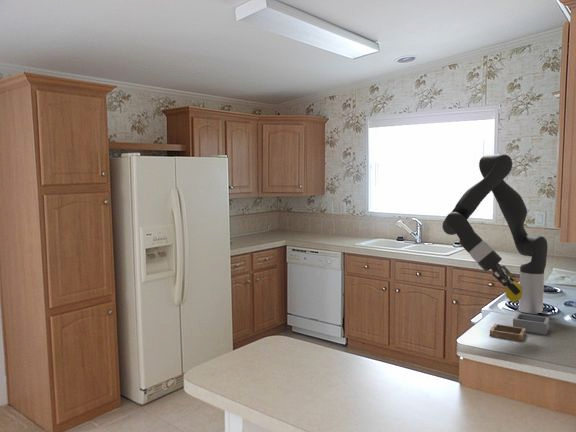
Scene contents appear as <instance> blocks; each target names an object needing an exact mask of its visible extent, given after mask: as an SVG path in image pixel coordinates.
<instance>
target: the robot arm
mask: <svg viewBox="0 0 576 432" xmlns="http://www.w3.org/2000/svg"><path fill="white" fill-rule="evenodd" d="M478 168H479V171H480V174H481V176H482V177H483V179H481V180H480V181H478V182H477V183H475V184H473V186H471V187H470V188H468V189H467V190H466V191H465V192H464V194H463V195H462V196H461V197H460V198H459V200H458V201H457V202H456V204H455V206H454V208H453V209H452V211H451V212H450V213H448V214H447V215H446V217H445V218H444V220H443V222H442V224H441V225H442V230H443V232H444V233H446V234H447V235H449V236H454V235H456V236H457V237H458V239H459V244H460V246H461V247H462V248H463V249H464V250H465V251H466V252H467V253H468V254H469V255H470V257H471V259H473V260H474V262H476V263H477V265H478V266H479V267H480V268H481V269H483V271H484V272H489V271H490V270H491V271H492V277H494V278H495V279H496V280H497V281H498V282H499V283H500V284H501V285H502V286H503V287H505V288H506V287H508V288H509V289H510V290H511V291H512V292H513V293H514V294H515V295H517V294H518V293H520V290H519V289H518V288H517V287H516V286H515V285H514V284H512V283H513V281H516V282H517V280H516V277H515V276H514V275H513V274H512V272H511V271H510V270H509V269H508V268H507V267H506V266H505V265H501V263H500V262H501V261H502V257H501V256H500V255H499V254H498V253H497V252H496V251H495V250H494V248H492V247H491V246H490V245H489V244H488V243H487V242H485V241H484V239H482V238H481V237H480V235H479V234H477V233H476V231H475V230H474V228H473V226H472V225H471V223H470V222H469V220H468V219H469V218H470V217H471V216H472V215H473V213H474V212H475V211H476V210H477V208H478V207H479V205H480V204H481V202H482V201H483V200H484V199H485V198H486V197H487V195H489V194H490V192H492V194H493V196H494V198H495V200H496V202H497V204H498V206H499V207H498V208H500V211H501V213H502V215H503V217H504V219H505V221H506V223H507V226H508V229H510V233H511V236H512V239H513V243H514V245H515V247H516V250H517V252H518V253H519V254H520V255H522V256H524V257H531V259H530V261H529V262H527V263H523V264H521V265H520V266H519V284H520V285H521V287H522V297H521V298H520V300H518V311H519V312H521V313H523V314H528V315H539V314H538V313H540V312H542V311H543V308H544V288H545V287H544V286H545V285H544V284H545V283H544V282H545V269H546V266H547V257H548V247H549V246H548V240H547V238H545V237H544V236H541V235H531V234H529V233H528V232H527V230H526V229H525V221H526V218H527V217H528V215H527V214H528V209H527V206H526V204H525V202H524V200H523V198H522V196H521V194H519V192H517V191H516V189H514V188H513V187H512V186H510V185H509V184H508V183H507V182H506V181H505V178H506V177H507V176H508V175H509V174H510V173H511V171H512V168H513V161H512V158H511V156H509V154H505V153H497V154H485V155H483V156H481V157H480V159H479V161H478Z"/></svg>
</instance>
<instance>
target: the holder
mask: <svg viewBox="0 0 576 432" xmlns="http://www.w3.org/2000/svg"><path fill="white" fill-rule="evenodd" d="M512 326H513V327H520V328H526V333H533V334H537V335H545V336H547V334H548V331H549V328H550V317H549V316H541V315H537V314H529V313H522V312H521V313H519V312H516V314H515V315H514V317H513V319H512Z"/></svg>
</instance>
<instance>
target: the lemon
mask: <svg viewBox="0 0 576 432" xmlns="http://www.w3.org/2000/svg"><path fill="white" fill-rule="evenodd" d="M512 284H514V285H515V286H516V287H517V288H518V289H519V290H520V293H518V294H517V295H515V294H514V293H513V292H512V291H511V290H510V289H509V288H508V287H506V286H505V291H504V293H505V297H506V298H507V299H508V300H509V301H511V302H512V303H515V302H519V300H520V298H521V297H522V287H521V285H520V282H518V281H517V280H516V281H513V283H512Z"/></svg>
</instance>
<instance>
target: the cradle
mask: <svg viewBox="0 0 576 432" xmlns="http://www.w3.org/2000/svg"><path fill="white" fill-rule="evenodd" d="M526 334H527V332H526V328H520V327H513V325H506V324H500V323H494V324H493V326H492V327H491V328H490V329H489V337H494V338H495V337H496V338H501V339H507V340H513V341H518V342H524V341H523V340H524V339H525V336H526Z"/></svg>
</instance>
